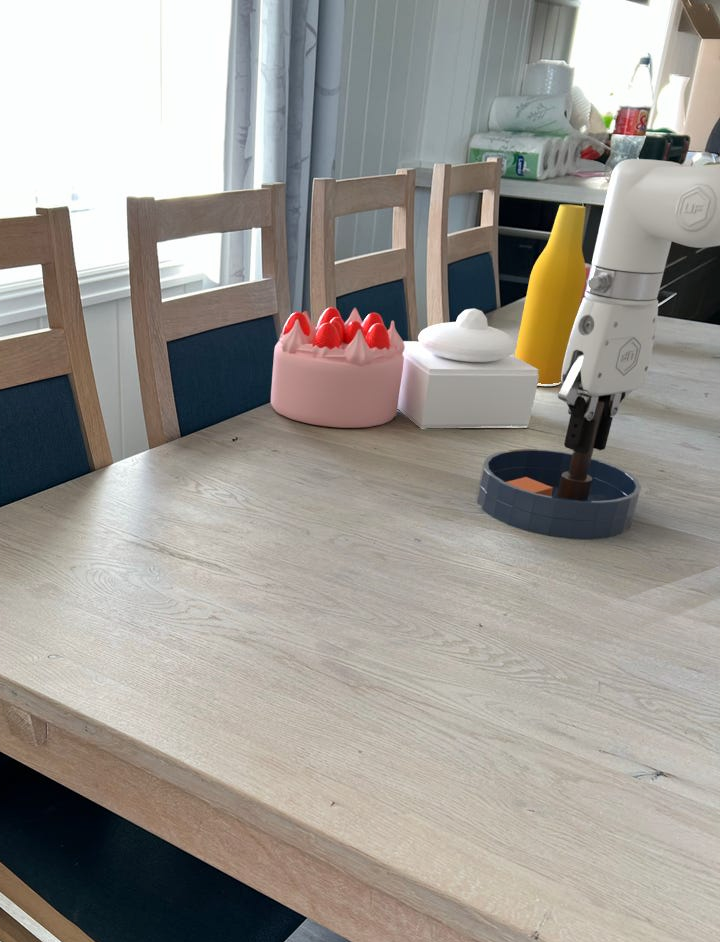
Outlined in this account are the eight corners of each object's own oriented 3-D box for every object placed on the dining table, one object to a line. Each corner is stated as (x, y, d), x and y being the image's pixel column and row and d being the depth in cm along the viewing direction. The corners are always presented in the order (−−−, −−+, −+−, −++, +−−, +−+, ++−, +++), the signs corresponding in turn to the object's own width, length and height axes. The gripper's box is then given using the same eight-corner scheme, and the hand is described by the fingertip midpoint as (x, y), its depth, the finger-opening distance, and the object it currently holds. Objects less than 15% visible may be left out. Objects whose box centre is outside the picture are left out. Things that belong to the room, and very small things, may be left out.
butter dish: (420, 429, 145) (437, 320, 137) (381, 395, 160) (394, 295, 153) (528, 428, 149) (550, 321, 141) (479, 395, 164) (497, 297, 156)
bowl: (661, 526, 117) (672, 487, 114) (561, 555, 108) (572, 513, 105) (543, 477, 130) (551, 441, 127) (445, 499, 120) (452, 461, 118)
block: (546, 519, 115) (553, 487, 113) (524, 525, 113) (531, 493, 111) (519, 508, 118) (526, 476, 116) (497, 514, 116) (504, 482, 114)
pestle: (593, 502, 118) (617, 404, 112) (573, 507, 116) (597, 408, 110) (569, 492, 121) (592, 396, 115) (550, 497, 119) (572, 399, 113)
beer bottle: (559, 377, 179) (597, 205, 164) (565, 390, 171) (605, 211, 156) (508, 372, 180) (541, 201, 165) (511, 384, 172) (547, 206, 157)
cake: (371, 392, 162) (383, 303, 155) (415, 429, 145) (430, 332, 138) (257, 392, 158) (263, 301, 151) (288, 431, 141) (297, 330, 134)
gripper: (604, 296, 99) (564, 468, 108) (696, 288, 108) (652, 448, 117) (547, 283, 105) (513, 448, 114) (639, 276, 113) (601, 431, 122)
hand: (584, 447), depth 115 cm, fingers closed on pestle, 2 cm apart
